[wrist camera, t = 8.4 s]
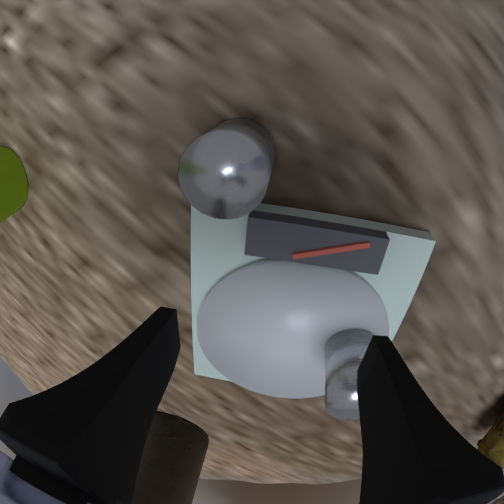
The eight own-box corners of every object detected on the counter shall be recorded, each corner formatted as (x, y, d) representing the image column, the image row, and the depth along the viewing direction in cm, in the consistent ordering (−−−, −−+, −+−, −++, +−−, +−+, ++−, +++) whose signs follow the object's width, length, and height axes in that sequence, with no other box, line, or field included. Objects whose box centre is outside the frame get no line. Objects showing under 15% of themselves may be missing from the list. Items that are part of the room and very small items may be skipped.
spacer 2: (318, 335, 22) (319, 393, 18) (375, 322, 21) (386, 380, 16) (329, 369, 24) (330, 423, 19) (380, 359, 22) (389, 413, 18)
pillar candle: (183, 410, 33) (144, 526, 20) (222, 448, 37) (197, 547, 24) (123, 409, 36) (81, 505, 23) (164, 446, 40) (135, 531, 27)
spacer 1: (209, 114, 17) (179, 128, 13) (280, 121, 17) (273, 137, 13) (205, 179, 19) (178, 213, 15) (271, 188, 19) (263, 225, 15)
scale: (197, 194, 20) (184, 209, 18) (429, 232, 19) (442, 250, 17) (198, 367, 28) (191, 387, 26) (358, 389, 27) (360, 410, 25)
